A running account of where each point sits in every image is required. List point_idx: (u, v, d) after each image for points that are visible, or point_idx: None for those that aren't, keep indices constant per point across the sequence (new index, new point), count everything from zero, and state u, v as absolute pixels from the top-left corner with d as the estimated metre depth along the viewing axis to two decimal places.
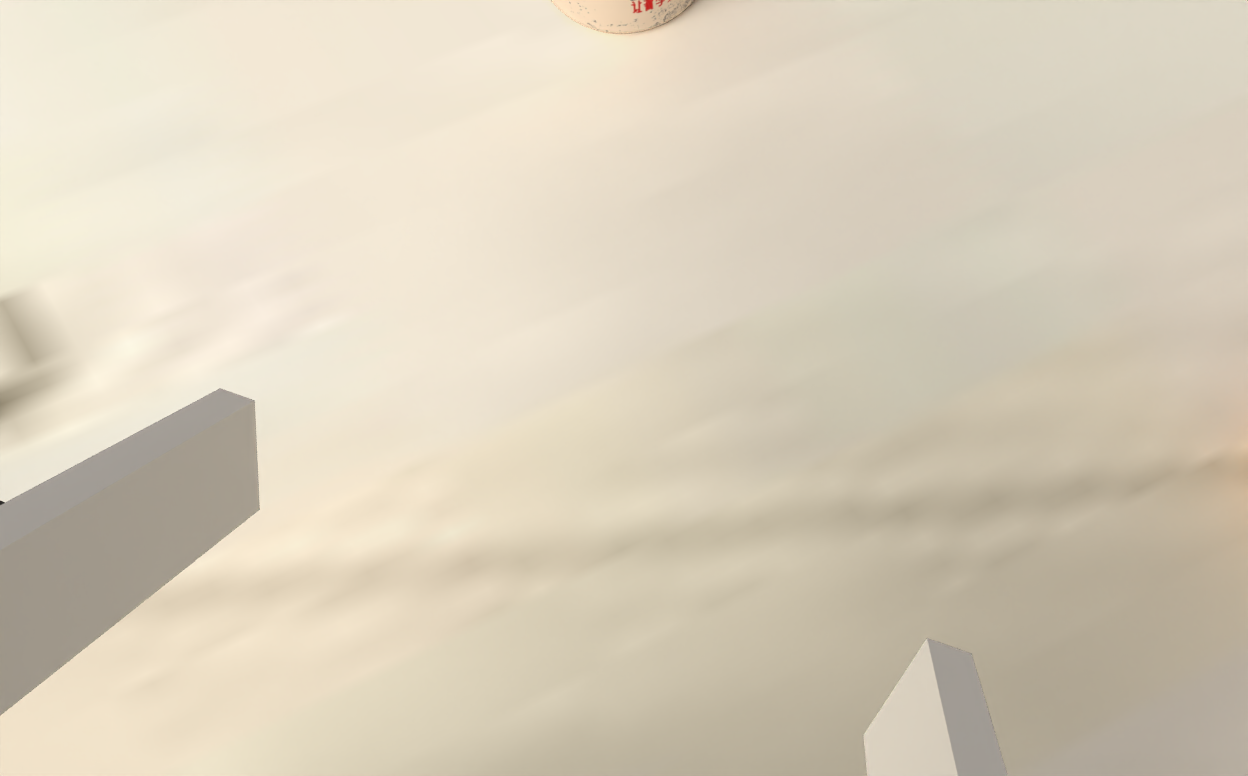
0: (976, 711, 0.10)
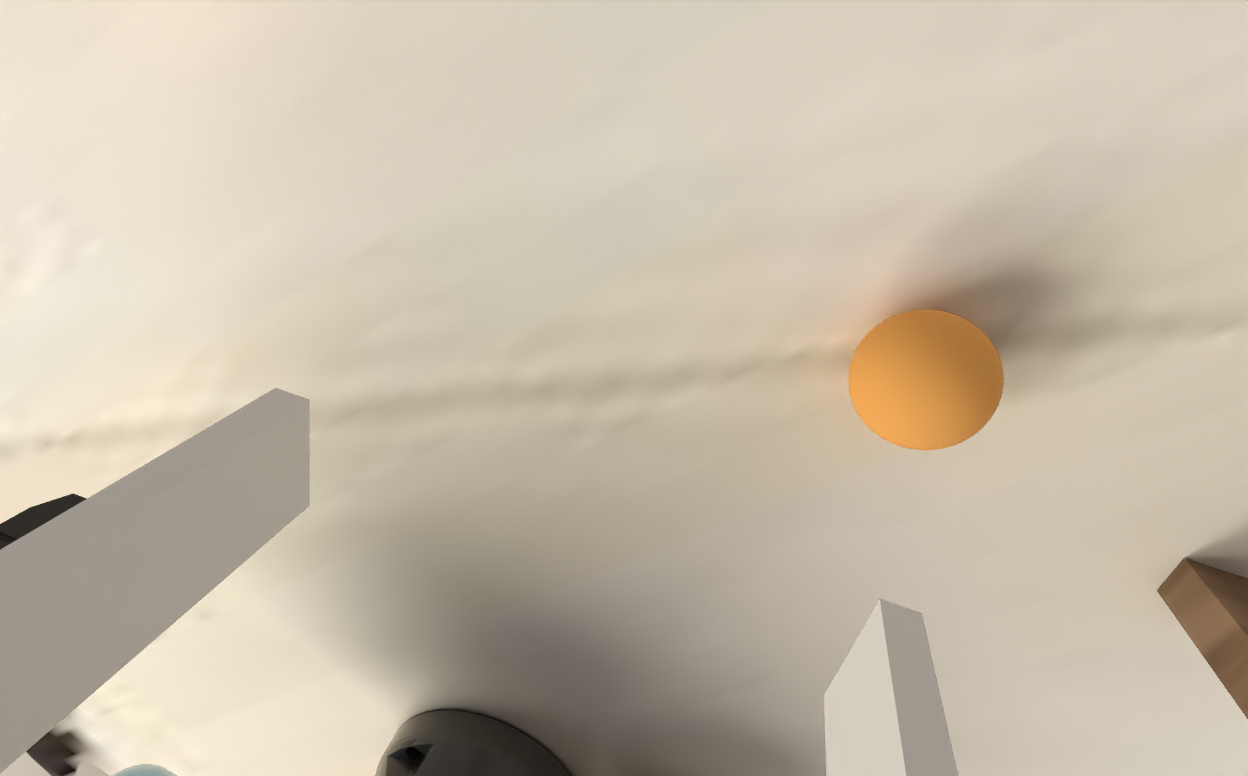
0: (921, 663, 0.10)
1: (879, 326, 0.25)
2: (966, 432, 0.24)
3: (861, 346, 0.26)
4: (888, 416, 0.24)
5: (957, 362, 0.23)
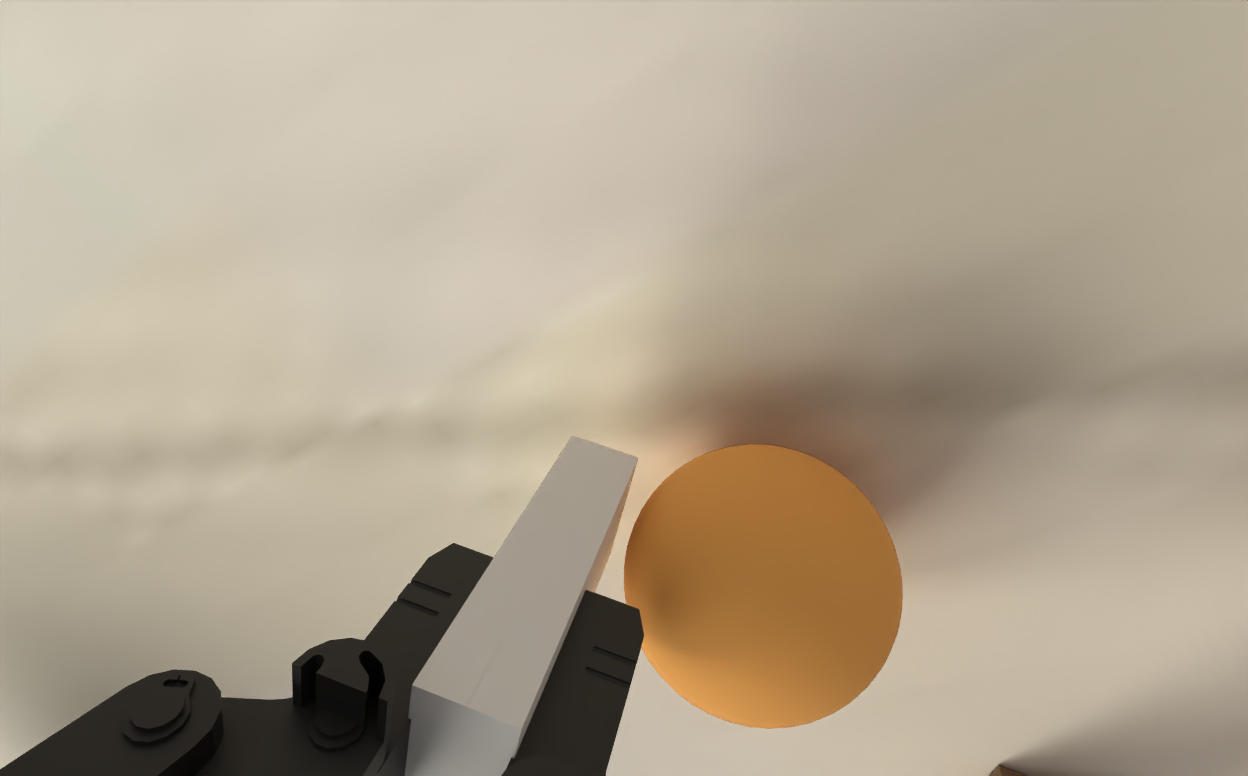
0: (614, 486, 0.13)
1: (791, 606, 0.11)
2: None
3: (796, 665, 0.11)
4: None
5: None
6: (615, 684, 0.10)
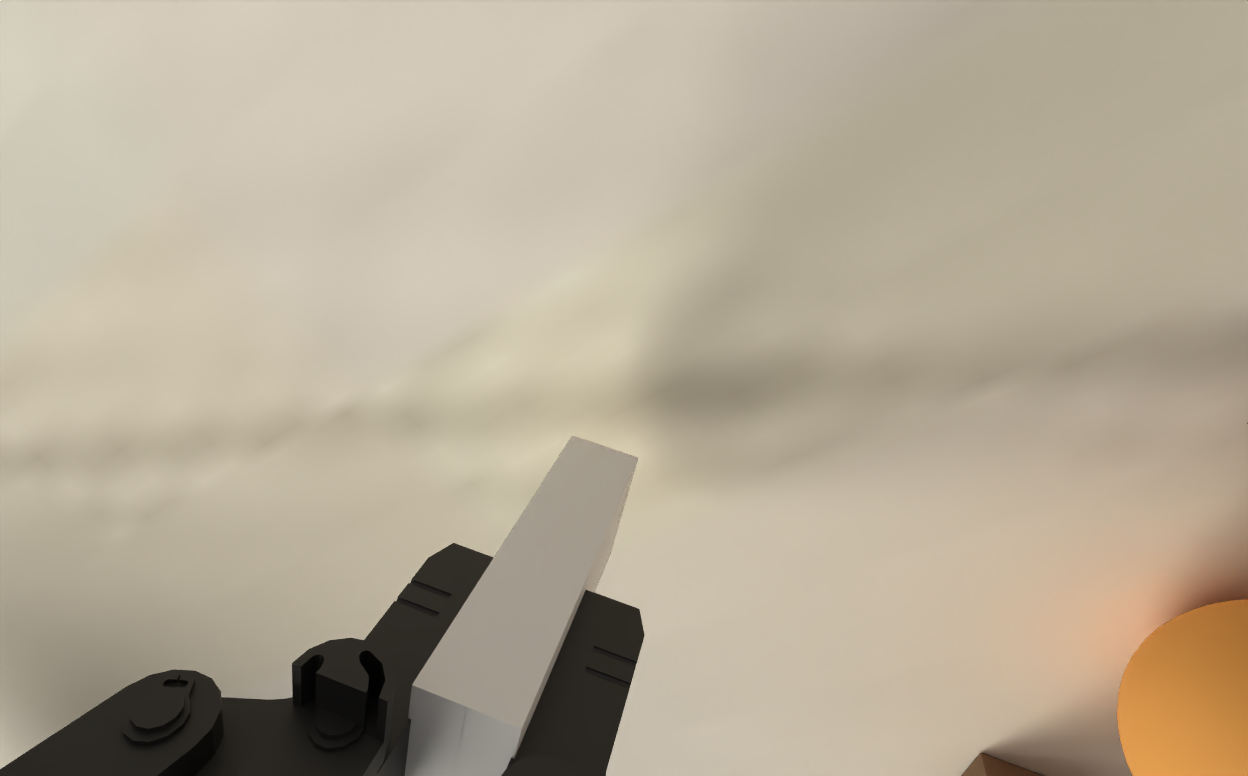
0: (614, 486, 0.13)
1: (1212, 612, 0.13)
2: None
3: (1160, 637, 0.13)
4: None
5: None
6: (615, 684, 0.10)
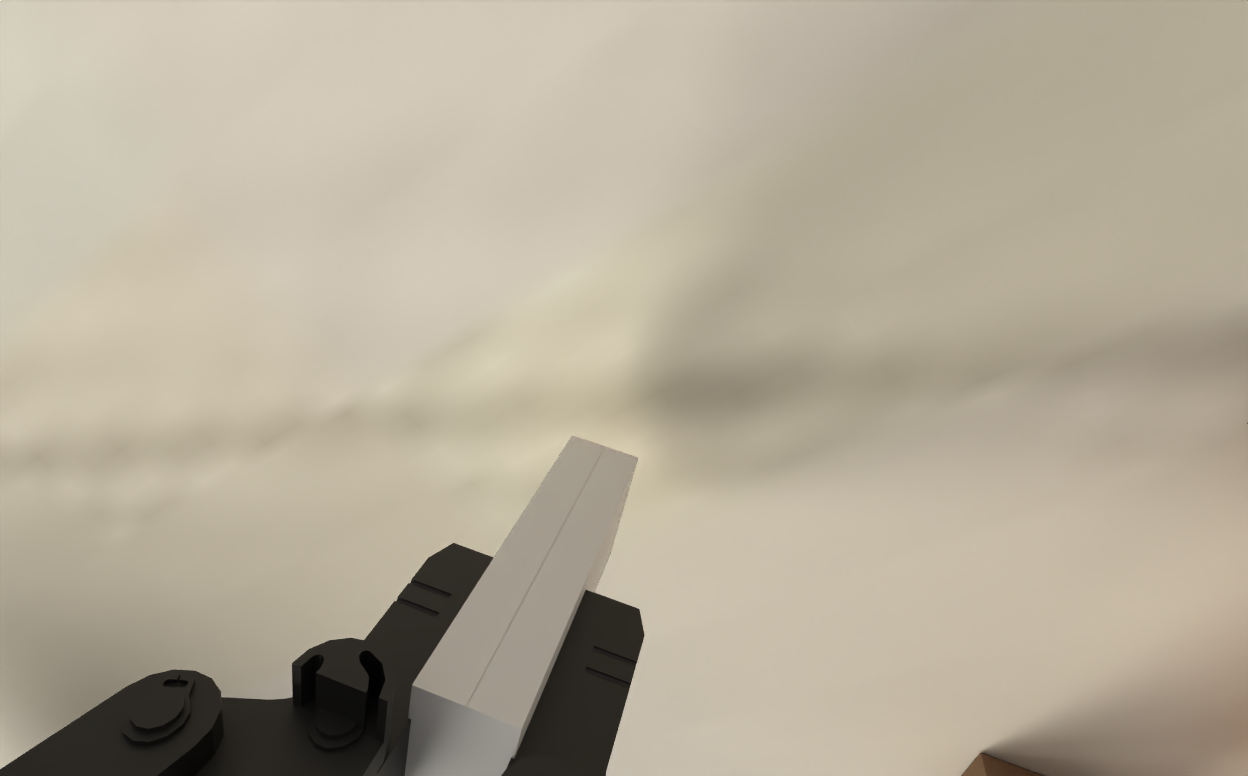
0: (614, 486, 0.13)
1: None
2: None
3: None
4: None
5: None
6: (615, 684, 0.10)
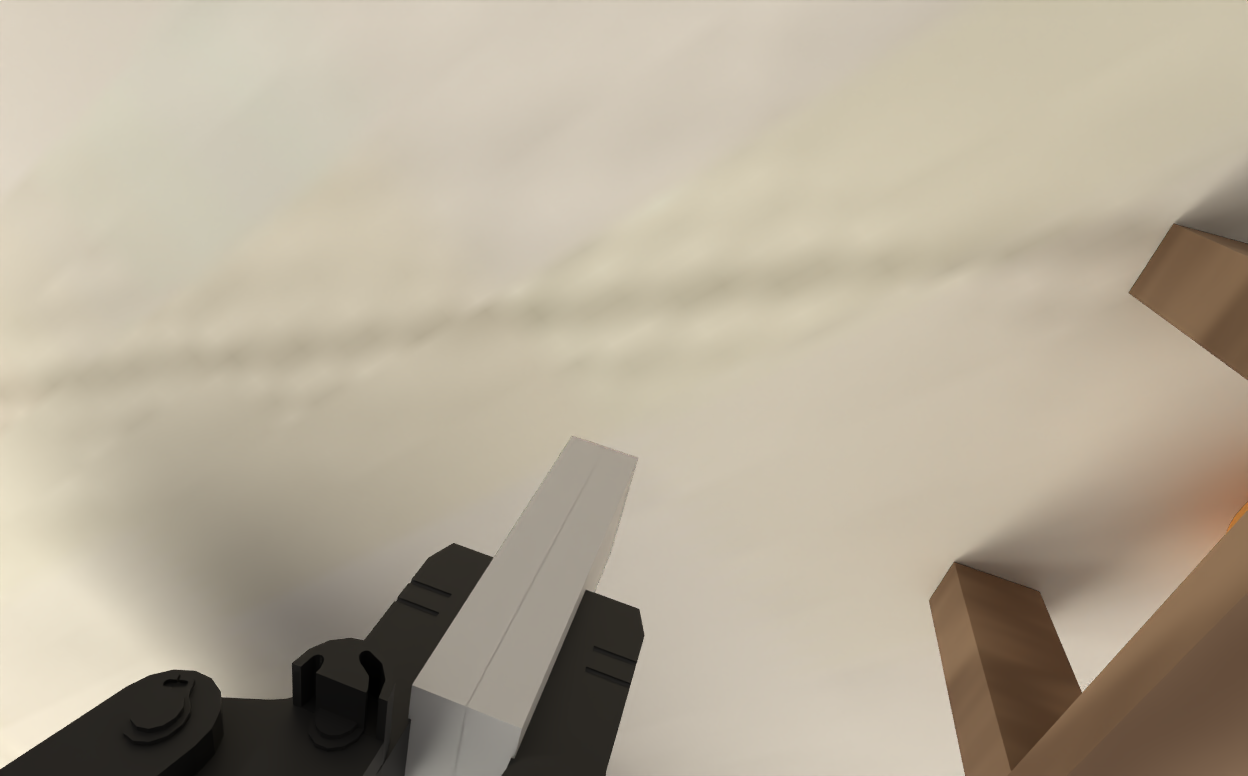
0: (614, 486, 0.13)
1: None
2: None
3: None
4: None
5: None
6: (615, 684, 0.10)
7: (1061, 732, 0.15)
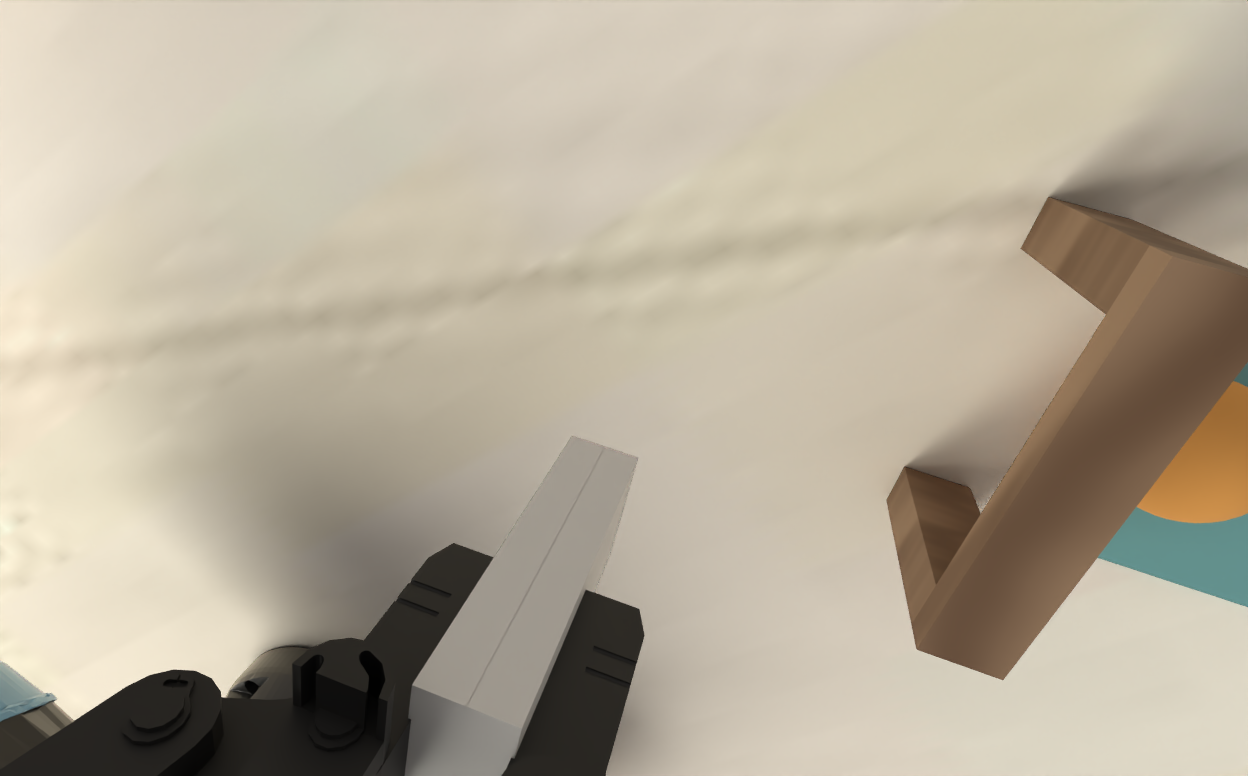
0: (614, 486, 0.13)
1: (1224, 433, 0.21)
2: None
3: (1222, 464, 0.21)
4: None
5: None
6: (615, 684, 0.10)
7: (966, 545, 0.22)
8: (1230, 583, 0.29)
